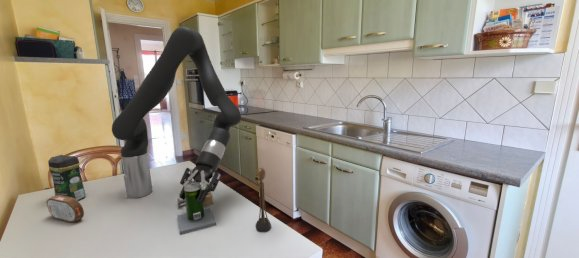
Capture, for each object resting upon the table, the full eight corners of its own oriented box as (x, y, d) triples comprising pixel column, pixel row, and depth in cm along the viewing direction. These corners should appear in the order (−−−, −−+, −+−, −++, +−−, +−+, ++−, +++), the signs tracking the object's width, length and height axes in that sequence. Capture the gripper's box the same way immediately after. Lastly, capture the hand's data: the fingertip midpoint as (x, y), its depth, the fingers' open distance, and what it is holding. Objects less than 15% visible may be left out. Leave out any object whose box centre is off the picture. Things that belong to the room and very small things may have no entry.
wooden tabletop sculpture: (266, 235, 79) (263, 172, 75) (252, 233, 80) (248, 171, 76) (272, 224, 84) (270, 165, 80) (259, 222, 86) (256, 164, 82)
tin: (86, 220, 90) (82, 197, 88) (76, 225, 87) (71, 202, 86) (58, 214, 95) (53, 192, 93) (47, 218, 92) (42, 196, 90)
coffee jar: (52, 202, 104) (42, 157, 101) (73, 193, 112) (65, 152, 108) (68, 205, 101) (59, 159, 98) (89, 196, 109) (81, 153, 105)
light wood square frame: (179, 212, 94) (178, 203, 93) (177, 202, 102) (176, 193, 101) (213, 204, 99) (212, 195, 99) (209, 195, 107) (208, 187, 106)
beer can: (207, 218, 87) (203, 185, 85) (191, 224, 84) (187, 190, 81) (201, 212, 91) (197, 180, 89) (185, 217, 88) (181, 184, 85)
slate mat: (180, 234, 80) (179, 231, 80) (177, 218, 90) (177, 215, 90) (216, 224, 85) (216, 222, 85) (210, 210, 95) (210, 207, 95)
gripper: (189, 148, 93) (166, 193, 84) (222, 152, 87) (201, 200, 79) (201, 158, 98) (180, 200, 90) (233, 162, 93) (214, 208, 85)
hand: (190, 200), depth 84 cm, fingers open, 6 cm apart
